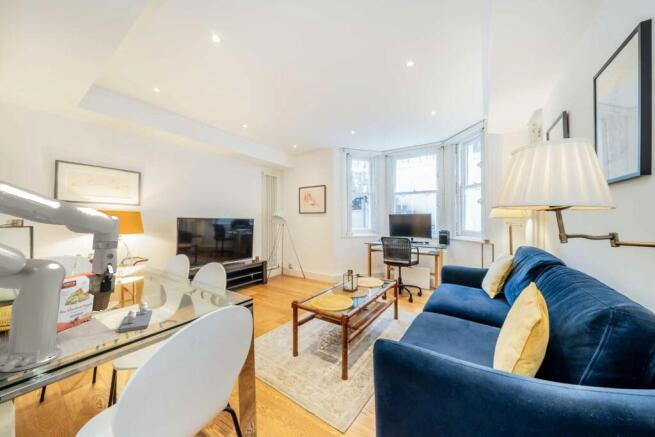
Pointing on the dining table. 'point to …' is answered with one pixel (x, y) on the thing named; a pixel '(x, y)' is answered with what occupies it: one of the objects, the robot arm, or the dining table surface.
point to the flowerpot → (100, 299)
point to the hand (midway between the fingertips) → (101, 290)
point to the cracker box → (74, 301)
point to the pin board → (137, 319)
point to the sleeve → (95, 285)
